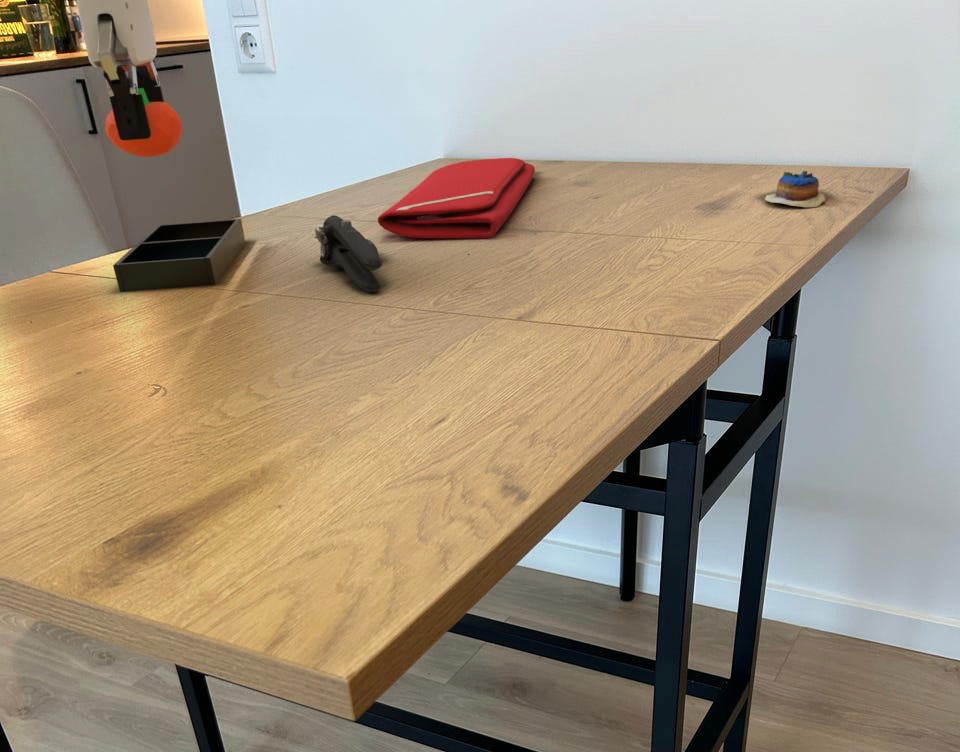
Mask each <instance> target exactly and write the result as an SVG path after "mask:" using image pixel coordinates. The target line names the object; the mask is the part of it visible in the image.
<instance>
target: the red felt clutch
mask: <svg viewBox="0 0 960 752" xmlns="http://www.w3.org/2000/svg"><path fill="white" fill-rule="evenodd" d="M535 172H536V169H535V166H534V165H533V164H531V163H528V162H527V163H526V161H524V160H523V159H520V158H515V157H499V158H487V159H486V158H482V159H472V160H466V161H460V162H454V163H450V164H448V165H444V166H442V167H440V168H437V169H435V170H433V171H432V172H431V173H430V174H429V175H428V176H427V177H425V179H423V180H422V181H421V182H420V183H419V184H417V185H416V187H414V188H413V189H411V190H410V191H409V192H408V193H407V194H406V195H404V196H403V197H402V198H401V199H400V200H399V201H396V203H395V204H393V205H391V206H390V207H389V208H388V209H386V210H385V211H383V212H382V213H381V214H379V216H378V217H377V223H378V225H379V226H380V227H382V228H383V230H385V231H388V232H390V233H392V234H395V235H397V236H401V237H408V238H416V239H489V238H491V237H494V235H496V234H497V232H498V231H499V230H500V228H501V227H502V225H504V223H505V222H506V220H507V219H508V218H509V217H510V215H511V214H512V213H513V210H514V209H515V208H516V206H517V204H518V203H519V201H520V200H521V198H522V196H523V195H524V193H526V190H527V189H528V187H529V185H530V184H531V182H532V180H533V178H534V175H535Z"/></svg>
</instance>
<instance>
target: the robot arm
mask: <svg viewBox="0 0 960 752" xmlns="http://www.w3.org/2000/svg"><path fill="white" fill-rule="evenodd" d="M76 7H77V10H78V15H79V20H80V25H81V29H82V34H83V40H84V45H85V49H86V53H87V58H88V61H89V63H90V64H91V65H92V67H94V68H95V69H103V71H102V72H103V73H102V75H103V77H104V79H105V80H106V81H105V82H106V90H107V95H108V96H109V101H110V105H111V110H112V109H113V114H114V118H115V122H116V126H117V130H118V134H119V138H120V139H121V140H135V139H147V138H149V137H150V136H151V131H150V127H149V122H148V118H147V114H146V109H145V105H144V100H143V96H142V94H138V88H143V89H144V91H145V94H146V96H147V99H148V101H149V102H165V100H164V95H163V90H162V86H160V85H161V82H160V77H159V73H158V71H157V69H156V66H157V65H156V64H155V63H156V61H155V58H156V56H157V53H158V49H157V42H156V41H157V40H156V36H155V31H154V25H153V21H152V16H151V12H150V8H149V3H148V0H76ZM126 72H127V73H126Z"/></svg>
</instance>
